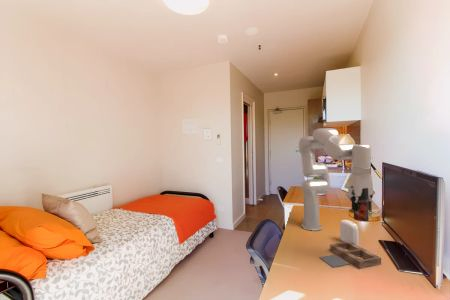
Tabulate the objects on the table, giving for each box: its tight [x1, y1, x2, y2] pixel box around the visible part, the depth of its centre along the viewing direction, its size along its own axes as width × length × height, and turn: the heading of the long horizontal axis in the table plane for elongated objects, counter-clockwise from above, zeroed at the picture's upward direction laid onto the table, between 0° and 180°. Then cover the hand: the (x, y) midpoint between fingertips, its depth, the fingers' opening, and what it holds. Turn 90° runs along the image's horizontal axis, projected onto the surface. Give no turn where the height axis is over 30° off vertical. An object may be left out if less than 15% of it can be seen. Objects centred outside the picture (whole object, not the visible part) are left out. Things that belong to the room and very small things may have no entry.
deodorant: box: [353, 188, 370, 223], centre depth 103 cm, size 6×6×15 cm
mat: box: [319, 253, 351, 269], centre depth 104 cm, size 9×9×1 cm
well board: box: [329, 241, 382, 269], centre depth 107 cm, size 18×12×3 cm, turn 15°
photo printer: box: [339, 219, 360, 247], centre depth 122 cm, size 10×4×12 cm, turn 14°
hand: (360, 209), depth 103 cm, fingers closed on deodorant, 6 cm apart
